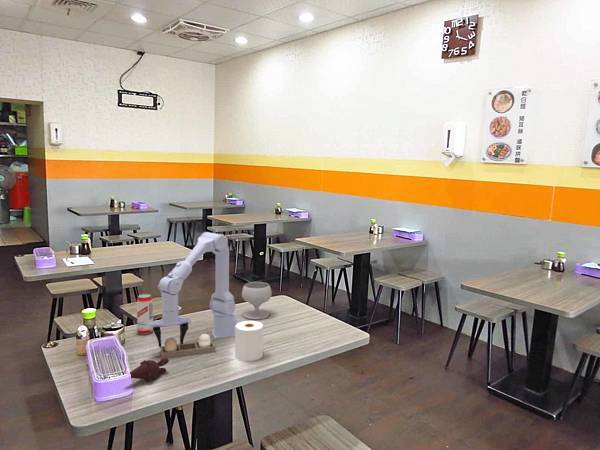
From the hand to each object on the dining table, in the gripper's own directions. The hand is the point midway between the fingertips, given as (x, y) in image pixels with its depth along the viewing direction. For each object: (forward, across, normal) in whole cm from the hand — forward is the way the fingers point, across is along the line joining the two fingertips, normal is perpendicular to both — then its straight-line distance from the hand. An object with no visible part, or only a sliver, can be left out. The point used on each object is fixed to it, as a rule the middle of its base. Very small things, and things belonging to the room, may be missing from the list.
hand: (170, 344), depth 162 cm
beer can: (+4, +7, -26) cm, 28 cm away
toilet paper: (+4, -27, +11) cm, 29 cm away
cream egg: (+4, -12, 0) cm, 13 cm away
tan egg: (+4, 0, 0) cm, 4 cm away
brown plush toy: (+4, +10, +17) cm, 20 cm away
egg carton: (+4, -6, 0) cm, 7 cm away
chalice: (+4, -43, -30) cm, 53 cm away
